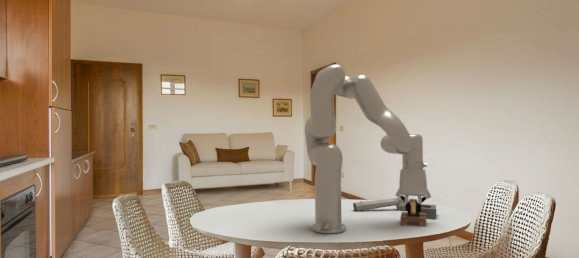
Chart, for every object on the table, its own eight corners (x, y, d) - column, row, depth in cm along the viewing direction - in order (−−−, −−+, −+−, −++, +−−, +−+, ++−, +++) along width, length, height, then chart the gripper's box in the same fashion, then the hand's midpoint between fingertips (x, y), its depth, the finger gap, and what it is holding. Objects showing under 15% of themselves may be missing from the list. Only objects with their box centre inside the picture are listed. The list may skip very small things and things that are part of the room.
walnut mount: (425, 226, 137) (425, 218, 137) (400, 224, 140) (400, 216, 140) (425, 220, 145) (425, 213, 145) (402, 219, 148) (401, 211, 148)
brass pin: (417, 223, 140) (417, 200, 140) (409, 223, 141) (408, 199, 141) (417, 222, 143) (417, 198, 143) (409, 221, 144) (409, 198, 144)
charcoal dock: (436, 219, 147) (436, 209, 147) (412, 217, 150) (412, 207, 150) (435, 214, 156) (435, 204, 156) (413, 213, 159) (413, 203, 159)
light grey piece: (352, 201, 168) (405, 192, 169) (354, 215, 168) (408, 207, 169) (354, 203, 162) (410, 194, 163) (357, 218, 162) (412, 209, 163)
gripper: (435, 165, 143) (435, 212, 143) (391, 164, 149) (392, 210, 149) (435, 167, 136) (436, 217, 136) (390, 166, 142) (390, 214, 142)
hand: (413, 213), depth 142 cm, fingers closed on brass pin, 3 cm apart
